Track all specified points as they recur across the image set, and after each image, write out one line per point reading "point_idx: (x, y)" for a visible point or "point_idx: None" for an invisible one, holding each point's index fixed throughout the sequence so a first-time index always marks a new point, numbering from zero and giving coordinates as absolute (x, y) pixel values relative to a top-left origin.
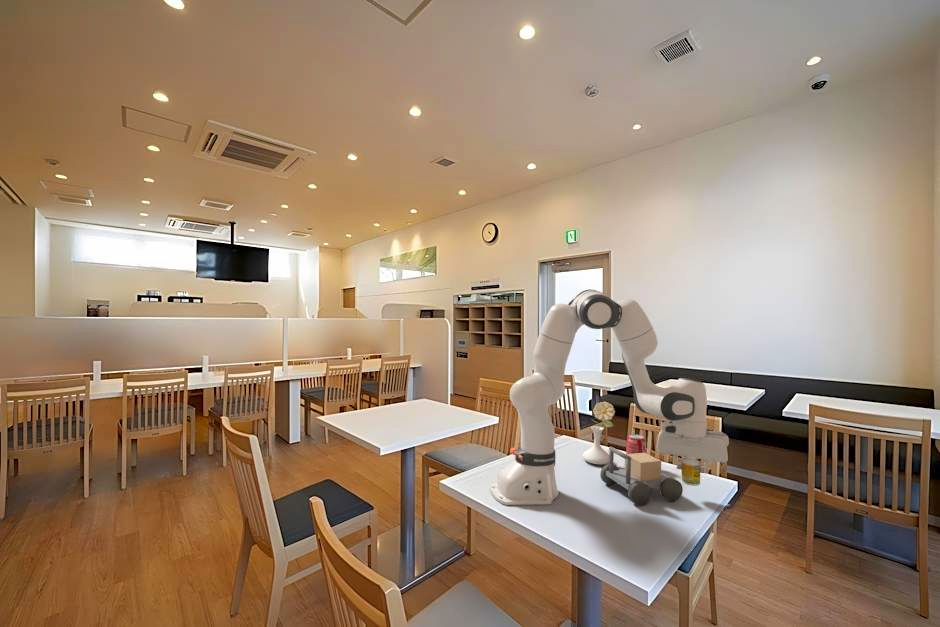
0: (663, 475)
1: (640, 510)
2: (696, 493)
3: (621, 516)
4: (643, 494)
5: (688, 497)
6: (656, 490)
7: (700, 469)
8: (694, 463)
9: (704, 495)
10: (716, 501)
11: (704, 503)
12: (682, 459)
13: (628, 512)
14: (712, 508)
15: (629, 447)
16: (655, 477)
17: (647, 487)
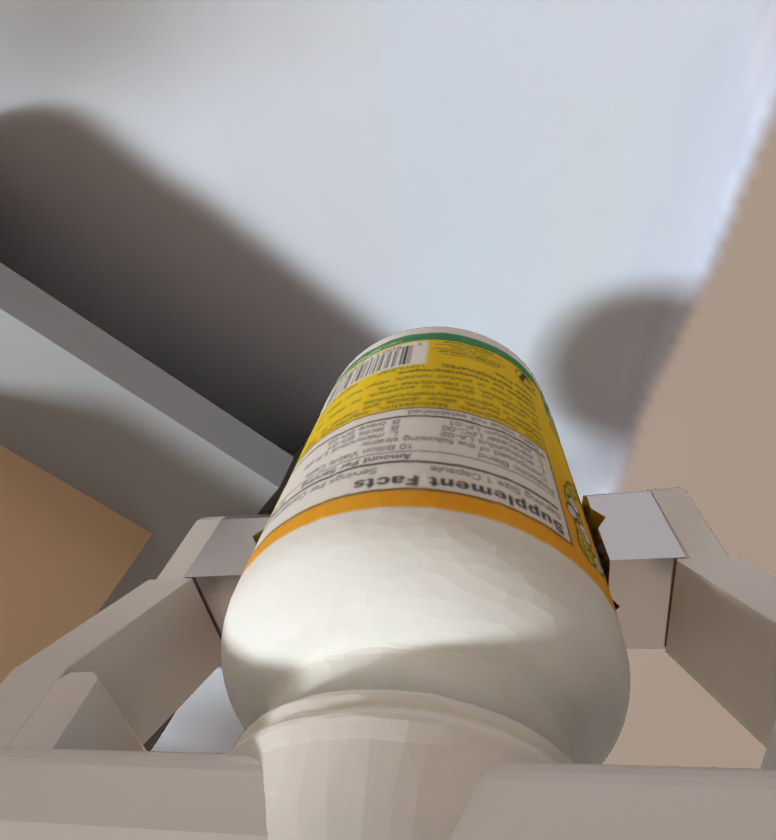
0: (119, 419)
1: (221, 669)
2: (481, 137)
3: (187, 743)
4: None
5: (419, 316)
6: (152, 341)
7: None
8: None
9: (568, 135)
10: (684, 232)
11: (560, 362)
12: (244, 728)
13: (190, 706)
14: (620, 424)
15: None
16: (112, 590)
17: (165, 722)
